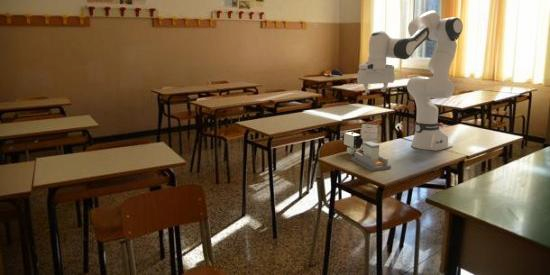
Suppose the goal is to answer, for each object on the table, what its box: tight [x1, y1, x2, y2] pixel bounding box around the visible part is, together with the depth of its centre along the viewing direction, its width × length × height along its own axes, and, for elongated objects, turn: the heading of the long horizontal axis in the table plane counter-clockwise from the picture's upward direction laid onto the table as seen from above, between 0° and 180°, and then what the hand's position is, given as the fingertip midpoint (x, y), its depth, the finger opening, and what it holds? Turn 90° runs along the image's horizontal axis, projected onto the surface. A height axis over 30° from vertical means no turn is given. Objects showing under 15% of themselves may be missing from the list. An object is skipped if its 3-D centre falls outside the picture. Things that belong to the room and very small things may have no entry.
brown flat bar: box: [375, 160, 384, 166], centre depth 203 cm, size 5×14×1 cm, turn 20°
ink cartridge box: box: [360, 123, 378, 151], centre depth 226 cm, size 9×5×15 cm, turn 74°
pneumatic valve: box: [341, 131, 363, 155], centre depth 220 cm, size 6×12×12 cm, turn 32°
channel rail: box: [350, 151, 392, 172], centre depth 203 cm, size 11×18×4 cm, turn 20°
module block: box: [363, 141, 380, 161], centre depth 202 cm, size 4×7×8 cm, turn 20°
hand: (375, 92), depth 212 cm, fingers open, 8 cm apart
